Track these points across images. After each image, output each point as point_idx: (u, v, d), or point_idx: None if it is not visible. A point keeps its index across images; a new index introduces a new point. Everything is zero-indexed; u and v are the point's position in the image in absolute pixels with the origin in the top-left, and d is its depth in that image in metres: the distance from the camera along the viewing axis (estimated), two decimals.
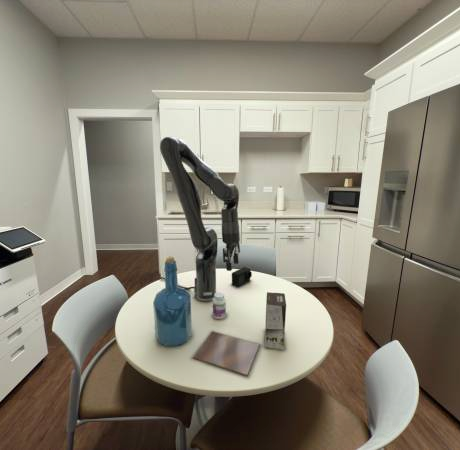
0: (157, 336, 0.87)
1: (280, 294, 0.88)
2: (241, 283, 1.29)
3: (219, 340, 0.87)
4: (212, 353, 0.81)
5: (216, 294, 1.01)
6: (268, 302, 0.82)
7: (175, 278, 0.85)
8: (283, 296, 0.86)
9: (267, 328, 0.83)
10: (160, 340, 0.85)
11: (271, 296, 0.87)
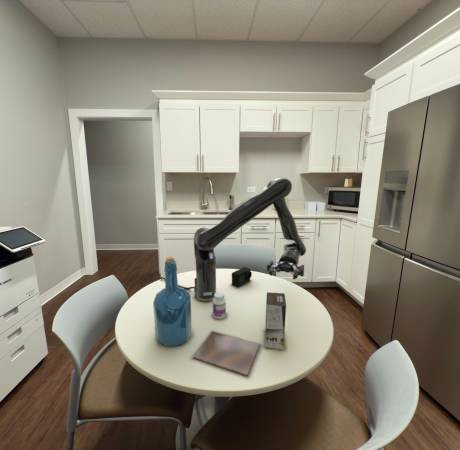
0: (157, 336, 0.87)
1: (279, 294, 0.88)
2: (241, 283, 1.29)
3: (219, 340, 0.87)
4: (212, 353, 0.81)
5: (216, 294, 1.01)
6: (268, 302, 0.83)
7: (175, 278, 0.85)
8: (283, 296, 0.86)
9: (267, 328, 0.83)
10: (160, 340, 0.85)
11: (271, 296, 0.87)
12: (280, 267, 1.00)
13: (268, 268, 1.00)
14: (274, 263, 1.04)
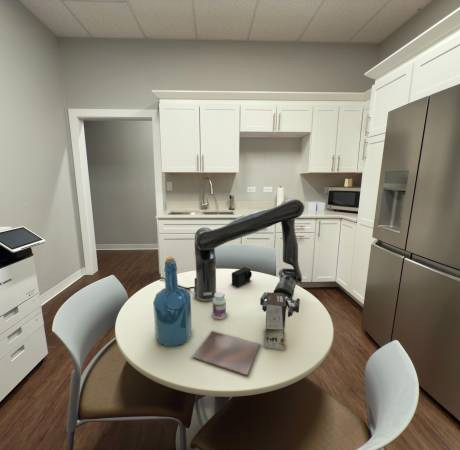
0: (157, 336, 0.87)
1: (280, 294, 0.88)
2: (241, 283, 1.29)
3: (219, 340, 0.87)
4: (212, 353, 0.81)
5: (216, 294, 1.01)
6: (268, 302, 0.82)
7: (175, 278, 0.85)
8: (283, 296, 0.86)
9: (267, 328, 0.83)
10: (160, 340, 0.85)
11: (271, 296, 0.87)
12: None
13: (261, 302, 0.94)
14: None
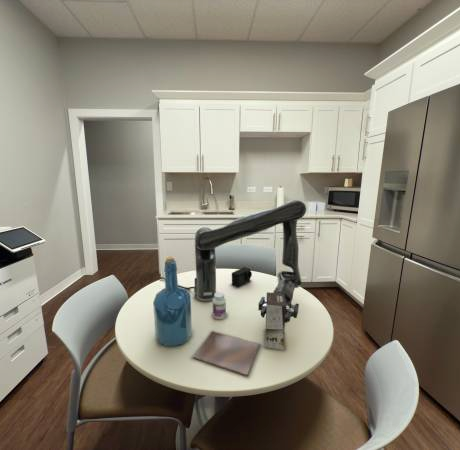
0: (157, 336, 0.87)
1: (279, 294, 0.88)
2: (241, 283, 1.29)
3: (219, 340, 0.87)
4: (212, 353, 0.81)
5: (216, 294, 1.01)
6: (268, 302, 0.82)
7: (175, 278, 0.85)
8: (283, 296, 0.86)
9: (267, 328, 0.83)
10: (160, 340, 0.85)
11: (271, 296, 0.87)
12: None
13: (260, 307, 0.90)
14: None
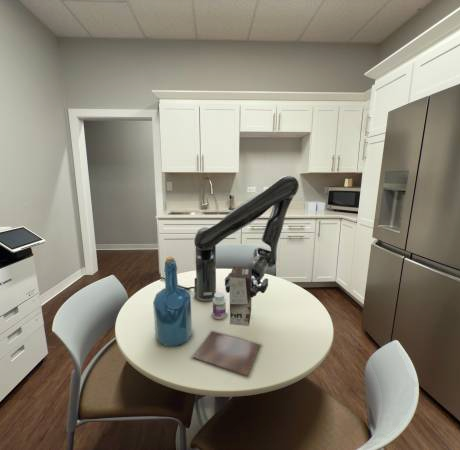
0: (157, 336, 0.87)
1: (246, 268, 0.81)
2: None
3: (219, 340, 0.87)
4: (212, 353, 0.81)
5: (216, 294, 1.01)
6: (232, 275, 0.76)
7: (175, 278, 0.85)
8: (249, 269, 0.79)
9: (231, 303, 0.76)
10: (160, 340, 0.85)
11: (236, 269, 0.80)
12: None
13: (226, 283, 0.84)
14: None
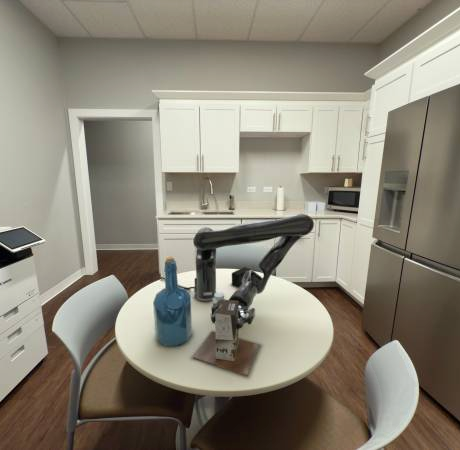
0: (157, 336, 0.87)
1: (233, 301, 0.82)
2: None
3: None
4: (212, 353, 0.81)
5: (216, 294, 1.01)
6: (218, 310, 0.77)
7: (175, 278, 0.85)
8: (236, 304, 0.80)
9: (217, 338, 0.77)
10: (160, 340, 0.85)
11: (223, 303, 0.81)
12: None
13: (212, 312, 0.85)
14: None
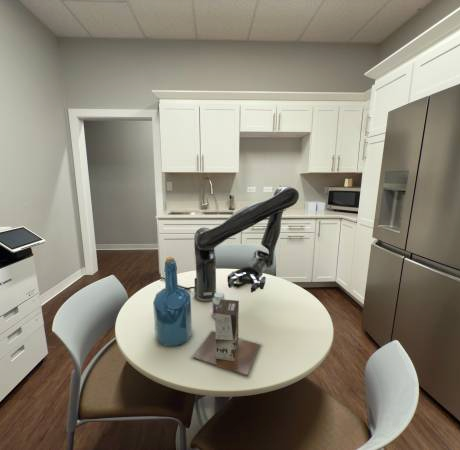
0: (157, 336, 0.87)
1: (233, 301, 0.82)
2: (241, 283, 1.29)
3: None
4: (212, 353, 0.81)
5: (216, 294, 1.01)
6: (218, 310, 0.77)
7: (175, 278, 0.85)
8: (236, 304, 0.80)
9: (217, 338, 0.77)
10: (160, 340, 0.85)
11: (223, 303, 0.81)
12: (241, 279, 0.97)
13: (228, 279, 0.97)
14: (236, 274, 1.01)
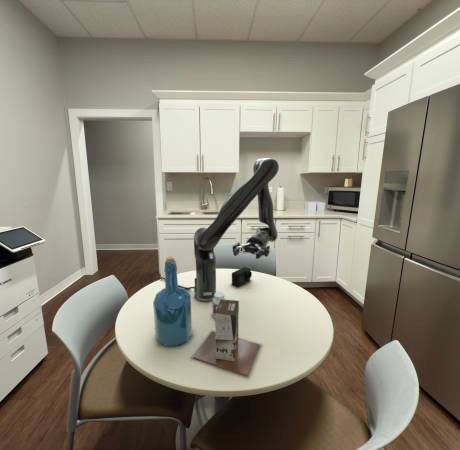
0: (157, 336, 0.87)
1: (233, 301, 0.82)
2: (241, 283, 1.29)
3: None
4: (212, 353, 0.81)
5: (216, 294, 1.01)
6: (218, 310, 0.77)
7: (175, 278, 0.85)
8: (236, 304, 0.80)
9: (217, 338, 0.77)
10: (160, 340, 0.85)
11: (223, 303, 0.81)
12: (246, 248, 0.99)
13: (233, 249, 0.99)
14: (241, 245, 1.03)
